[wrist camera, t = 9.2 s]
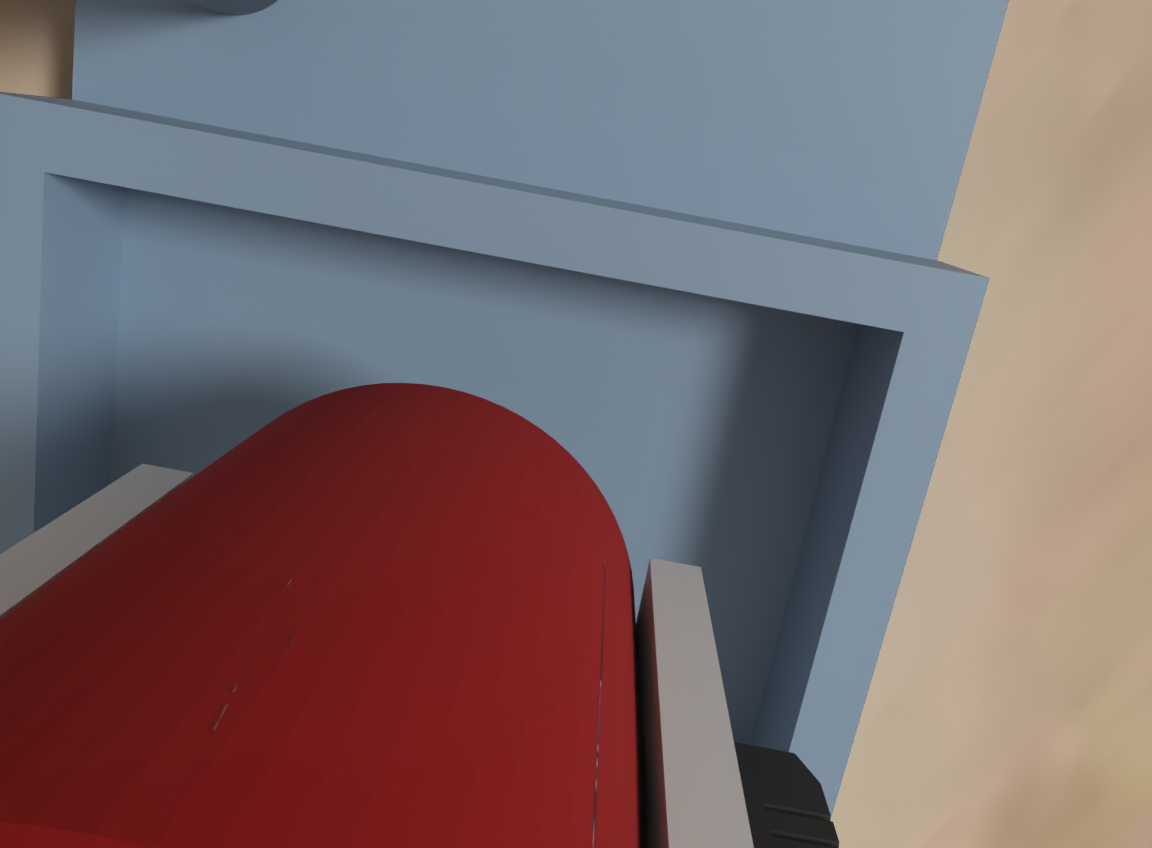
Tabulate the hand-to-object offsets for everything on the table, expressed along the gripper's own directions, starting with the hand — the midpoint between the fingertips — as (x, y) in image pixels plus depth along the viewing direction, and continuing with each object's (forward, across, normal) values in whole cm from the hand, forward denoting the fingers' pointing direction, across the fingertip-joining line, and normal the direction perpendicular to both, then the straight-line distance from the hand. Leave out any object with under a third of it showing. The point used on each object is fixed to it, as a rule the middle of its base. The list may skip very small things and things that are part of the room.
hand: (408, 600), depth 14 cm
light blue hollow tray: (+5, 0, +2) cm, 5 cm away
